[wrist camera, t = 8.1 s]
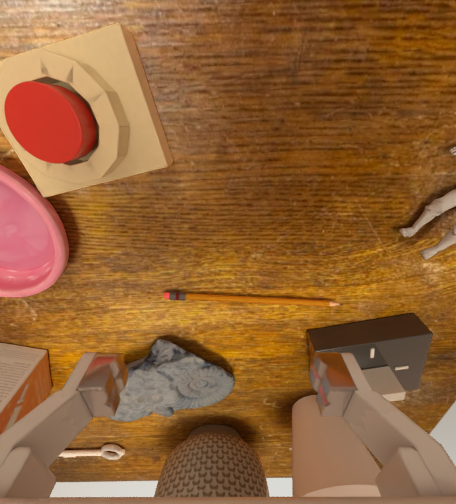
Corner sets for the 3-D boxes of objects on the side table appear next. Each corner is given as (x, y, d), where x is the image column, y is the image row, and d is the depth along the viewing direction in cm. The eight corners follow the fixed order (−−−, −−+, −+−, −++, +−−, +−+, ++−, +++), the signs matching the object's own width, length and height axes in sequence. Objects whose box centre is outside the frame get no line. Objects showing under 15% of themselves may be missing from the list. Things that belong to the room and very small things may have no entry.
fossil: (245, 377, 33) (248, 408, 30) (147, 417, 38) (139, 447, 34) (189, 320, 28) (185, 349, 25) (82, 374, 32) (65, 405, 29)
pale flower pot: (274, 385, 34) (299, 530, 22) (363, 380, 34) (437, 525, 22) (273, 429, 40) (293, 562, 28) (349, 426, 40) (401, 559, 28)
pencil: (165, 295, 26) (163, 300, 25) (164, 290, 25) (163, 295, 25) (340, 304, 27) (343, 309, 26) (342, 299, 26) (345, 304, 26)
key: (128, 454, 44) (122, 443, 42) (127, 460, 43) (120, 449, 41) (63, 455, 44) (53, 444, 42) (60, 461, 43) (50, 451, 41)
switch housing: (413, 312, 28) (434, 334, 25) (403, 367, 32) (419, 390, 30) (306, 330, 29) (315, 352, 26) (311, 380, 34) (319, 403, 31)
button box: (132, 32, 15) (104, 9, 12) (173, 161, 19) (162, 172, 16) (-6, 76, 17) (-67, 66, 13) (60, 190, 20) (26, 205, 17)
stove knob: (388, 365, 27) (407, 394, 25) (387, 373, 28) (406, 402, 25) (352, 371, 28) (366, 400, 25) (352, 378, 28) (366, 407, 26)
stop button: (75, 75, 14) (56, 71, 12) (108, 150, 16) (95, 154, 14) (12, 95, 14) (-15, 92, 13) (51, 165, 16) (33, 171, 14)
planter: (265, 457, 45) (282, 610, 31) (173, 461, 46) (149, 613, 32) (266, 406, 37) (290, 584, 23) (152, 411, 37) (109, 589, 23)
